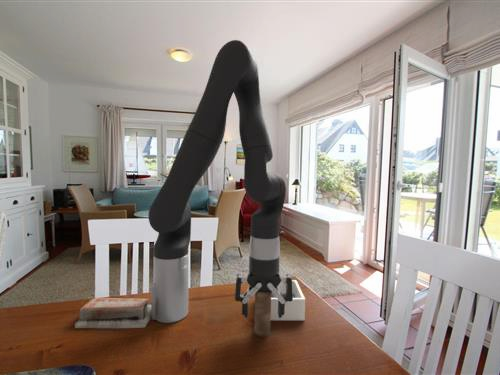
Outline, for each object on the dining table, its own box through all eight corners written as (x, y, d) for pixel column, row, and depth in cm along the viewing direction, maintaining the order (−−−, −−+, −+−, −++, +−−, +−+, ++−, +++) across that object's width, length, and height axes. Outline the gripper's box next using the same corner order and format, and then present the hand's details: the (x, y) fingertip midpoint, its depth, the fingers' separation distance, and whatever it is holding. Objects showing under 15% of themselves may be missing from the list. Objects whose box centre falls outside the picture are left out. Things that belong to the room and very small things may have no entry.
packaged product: (72, 312, 65) (94, 293, 75) (73, 330, 66) (94, 309, 76) (145, 311, 66) (157, 292, 76) (145, 329, 67) (157, 308, 77)
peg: (254, 337, 64) (255, 293, 63) (254, 327, 68) (254, 286, 67) (270, 337, 64) (272, 294, 63) (269, 327, 68) (270, 286, 67)
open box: (260, 320, 71) (261, 299, 70) (258, 298, 83) (258, 279, 82) (304, 320, 71) (305, 299, 71) (295, 298, 83) (296, 280, 83)
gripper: (235, 258, 60) (234, 325, 62) (296, 258, 61) (294, 325, 62) (235, 248, 68) (235, 308, 69) (290, 248, 68) (288, 308, 70)
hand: (263, 316), depth 66 cm, fingers open, 8 cm apart
